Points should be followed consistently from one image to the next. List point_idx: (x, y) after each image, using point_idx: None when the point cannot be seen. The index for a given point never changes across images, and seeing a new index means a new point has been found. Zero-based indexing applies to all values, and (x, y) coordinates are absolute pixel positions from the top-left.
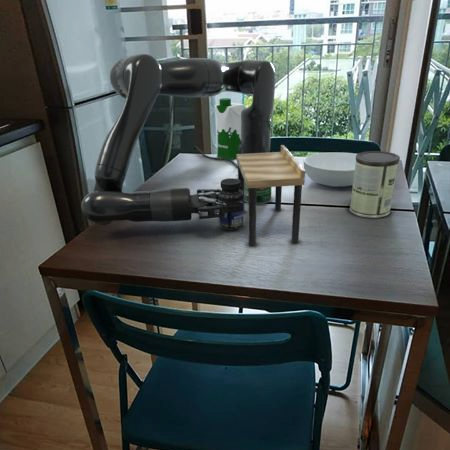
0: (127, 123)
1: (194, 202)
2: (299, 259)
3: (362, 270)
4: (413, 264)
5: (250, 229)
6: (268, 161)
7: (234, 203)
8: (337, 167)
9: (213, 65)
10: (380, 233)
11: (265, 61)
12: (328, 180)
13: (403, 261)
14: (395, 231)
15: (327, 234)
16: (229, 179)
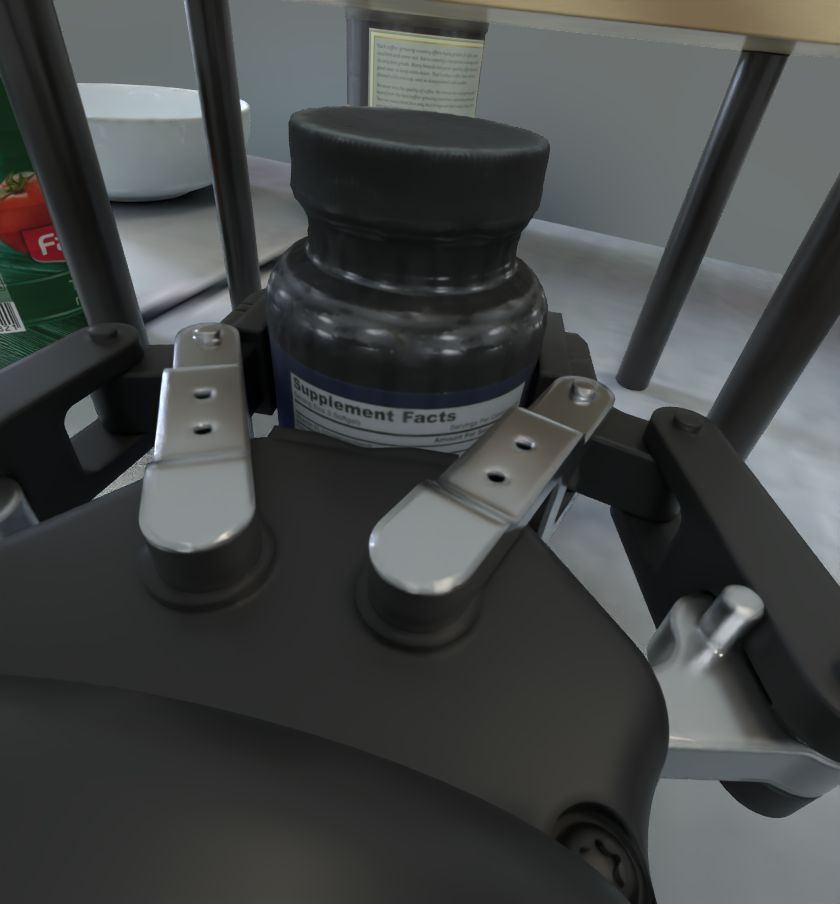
0: None
1: (480, 751)
2: (805, 417)
3: (831, 334)
4: (755, 274)
5: (755, 442)
6: None
7: (563, 346)
8: None
9: None
10: (565, 251)
11: None
12: (188, 167)
13: (742, 277)
14: (556, 236)
15: (559, 308)
16: (339, 117)
